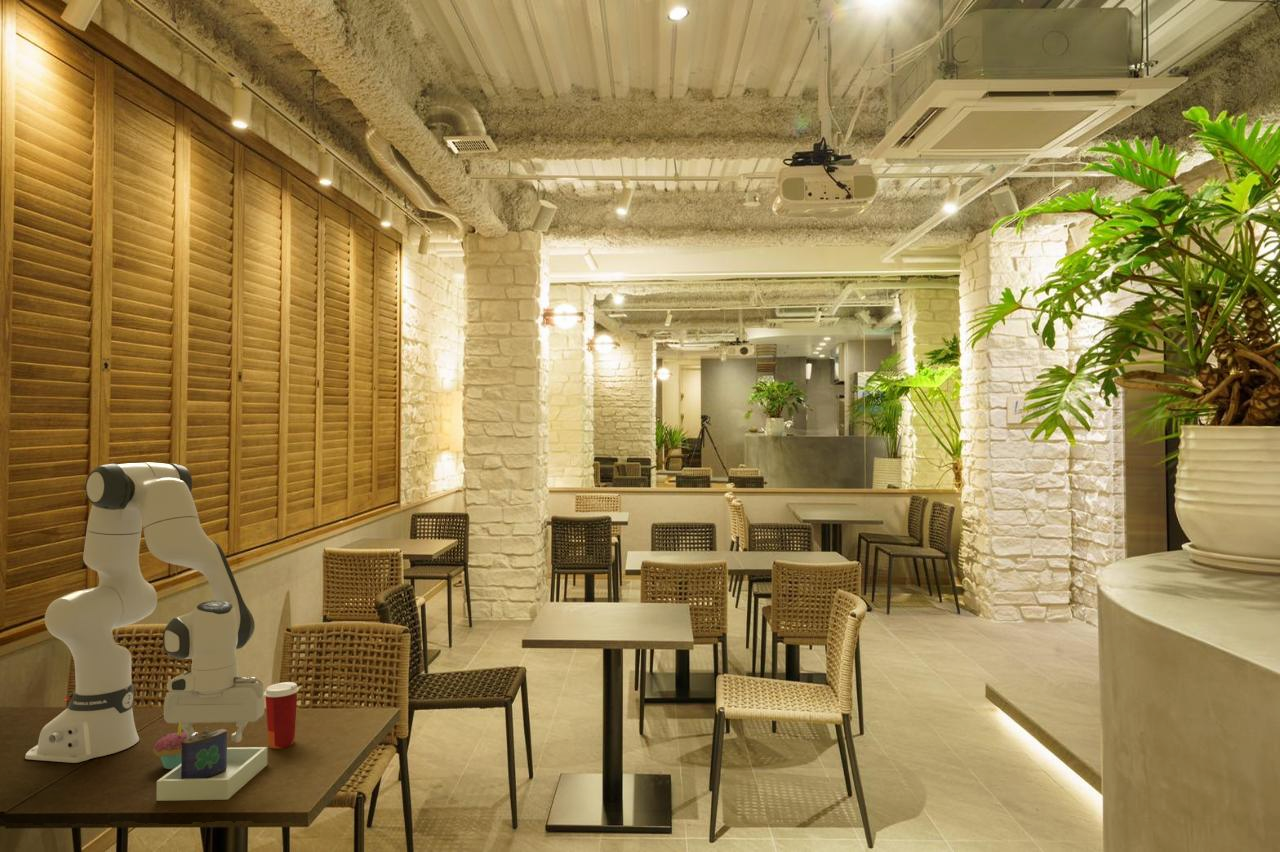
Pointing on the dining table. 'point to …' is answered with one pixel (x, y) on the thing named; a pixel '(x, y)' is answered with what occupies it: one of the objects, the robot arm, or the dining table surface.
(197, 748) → the flask
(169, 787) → the serving bin
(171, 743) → the cupcake
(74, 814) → the dining table surface
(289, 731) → the paper cup
